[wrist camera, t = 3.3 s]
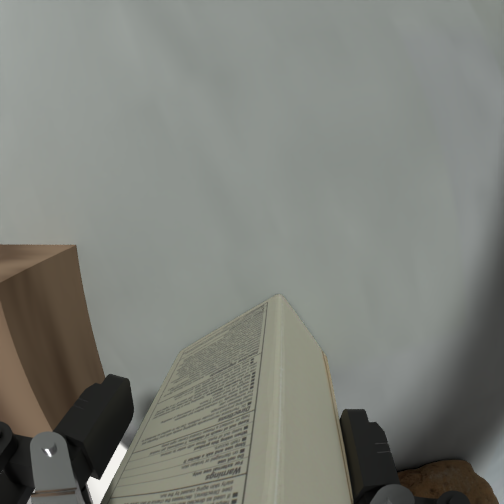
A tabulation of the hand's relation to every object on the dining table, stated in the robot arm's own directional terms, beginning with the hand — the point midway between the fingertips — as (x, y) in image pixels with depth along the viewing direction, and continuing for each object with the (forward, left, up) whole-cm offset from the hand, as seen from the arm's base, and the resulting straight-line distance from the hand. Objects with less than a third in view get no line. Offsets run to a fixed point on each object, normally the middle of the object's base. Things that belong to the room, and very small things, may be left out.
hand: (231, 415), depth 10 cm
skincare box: (0, 0, -5) cm, 5 cm away
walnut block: (+13, +1, -5) cm, 14 cm away
